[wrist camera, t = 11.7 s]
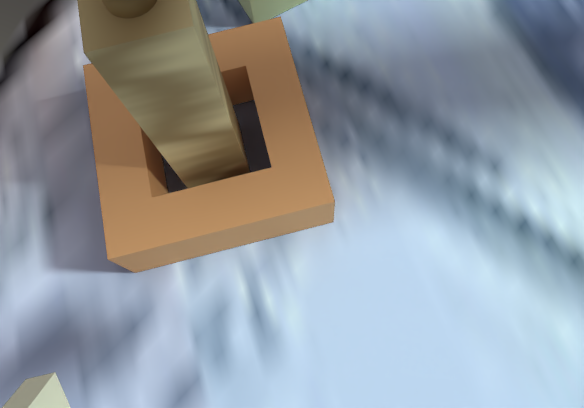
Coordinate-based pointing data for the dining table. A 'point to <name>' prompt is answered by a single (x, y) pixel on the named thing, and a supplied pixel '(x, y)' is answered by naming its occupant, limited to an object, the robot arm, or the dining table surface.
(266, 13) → the green square ring
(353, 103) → the dining table surface
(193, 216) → the orange square frame
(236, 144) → the peg block
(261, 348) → the dining table surface
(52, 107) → the dining table surface
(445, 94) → the dining table surface
